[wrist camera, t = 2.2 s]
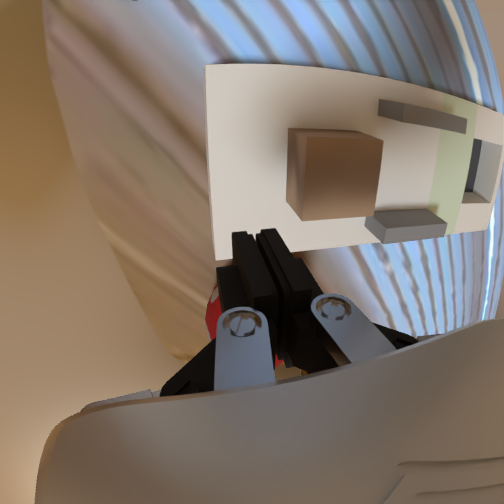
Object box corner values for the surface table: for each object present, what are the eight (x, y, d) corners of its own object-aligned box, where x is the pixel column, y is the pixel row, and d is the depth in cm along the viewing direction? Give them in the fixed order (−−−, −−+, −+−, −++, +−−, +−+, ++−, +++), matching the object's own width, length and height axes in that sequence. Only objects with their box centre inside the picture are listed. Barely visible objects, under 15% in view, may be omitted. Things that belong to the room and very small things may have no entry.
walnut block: (287, 128, 21) (306, 137, 18) (356, 130, 22) (383, 140, 19) (285, 200, 24) (302, 221, 21) (350, 197, 25) (373, 216, 22)
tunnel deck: (203, 68, 21) (208, 60, 15) (488, 110, 27) (530, 124, 21) (212, 238, 29) (220, 284, 23) (468, 217, 35) (503, 242, 29)
